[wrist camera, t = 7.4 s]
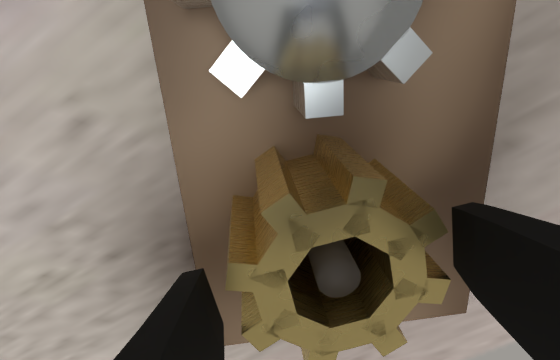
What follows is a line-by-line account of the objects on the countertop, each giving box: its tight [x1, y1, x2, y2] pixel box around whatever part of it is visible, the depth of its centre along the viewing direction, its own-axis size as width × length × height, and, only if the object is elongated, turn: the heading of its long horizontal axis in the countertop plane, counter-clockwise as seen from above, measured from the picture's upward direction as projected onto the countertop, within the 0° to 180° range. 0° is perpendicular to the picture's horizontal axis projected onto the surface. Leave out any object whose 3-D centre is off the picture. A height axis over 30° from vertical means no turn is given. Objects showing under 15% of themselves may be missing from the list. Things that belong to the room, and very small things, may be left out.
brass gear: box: [225, 134, 451, 360], centre depth 11 cm, size 6×6×4 cm
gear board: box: [144, 0, 516, 346], centre depth 10 cm, size 11×16×4 cm
